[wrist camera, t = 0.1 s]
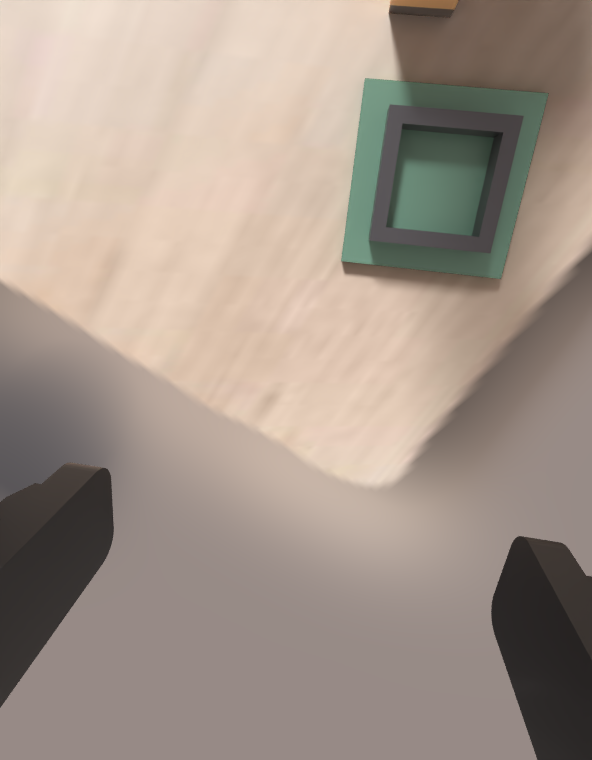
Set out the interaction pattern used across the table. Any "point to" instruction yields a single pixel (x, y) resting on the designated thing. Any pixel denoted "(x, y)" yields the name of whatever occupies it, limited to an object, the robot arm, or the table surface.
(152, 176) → the table surface
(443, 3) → the tan cardboard box
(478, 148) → the board
